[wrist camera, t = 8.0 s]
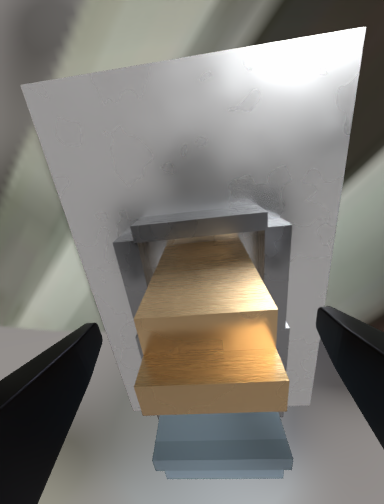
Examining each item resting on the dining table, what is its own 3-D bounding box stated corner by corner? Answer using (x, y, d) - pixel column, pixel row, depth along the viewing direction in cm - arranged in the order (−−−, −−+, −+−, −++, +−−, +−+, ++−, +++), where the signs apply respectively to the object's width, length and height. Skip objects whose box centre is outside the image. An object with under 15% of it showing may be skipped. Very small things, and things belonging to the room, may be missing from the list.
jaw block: (239, 238, 11) (293, 337, 5) (241, 300, 13) (284, 441, 6) (166, 245, 11) (120, 347, 5) (176, 305, 13) (151, 444, 6)
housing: (264, 369, 15) (293, 458, 10) (264, 406, 16) (288, 498, 12) (166, 374, 15) (152, 460, 11) (174, 409, 17) (165, 498, 12)
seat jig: (345, 44, 9) (410, -12, 6) (302, 389, 17) (322, 433, 14) (40, 94, 10) (-22, 66, 7) (137, 396, 18) (126, 437, 15)
